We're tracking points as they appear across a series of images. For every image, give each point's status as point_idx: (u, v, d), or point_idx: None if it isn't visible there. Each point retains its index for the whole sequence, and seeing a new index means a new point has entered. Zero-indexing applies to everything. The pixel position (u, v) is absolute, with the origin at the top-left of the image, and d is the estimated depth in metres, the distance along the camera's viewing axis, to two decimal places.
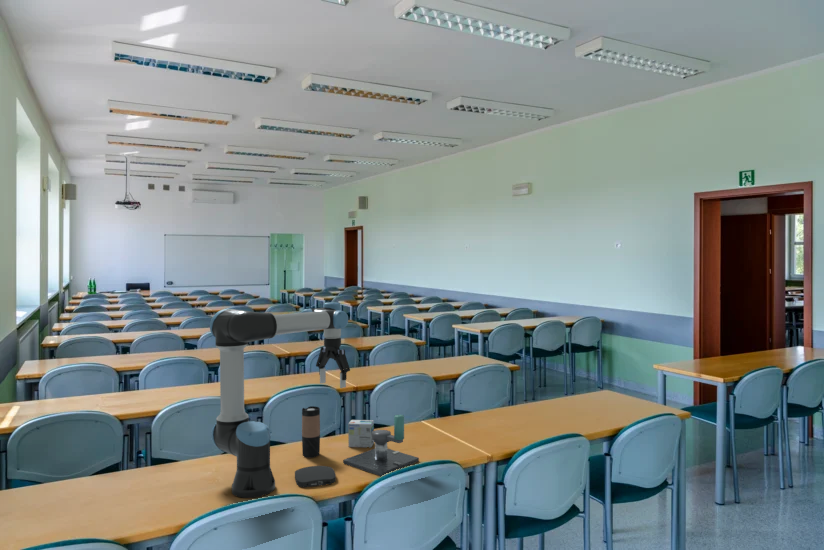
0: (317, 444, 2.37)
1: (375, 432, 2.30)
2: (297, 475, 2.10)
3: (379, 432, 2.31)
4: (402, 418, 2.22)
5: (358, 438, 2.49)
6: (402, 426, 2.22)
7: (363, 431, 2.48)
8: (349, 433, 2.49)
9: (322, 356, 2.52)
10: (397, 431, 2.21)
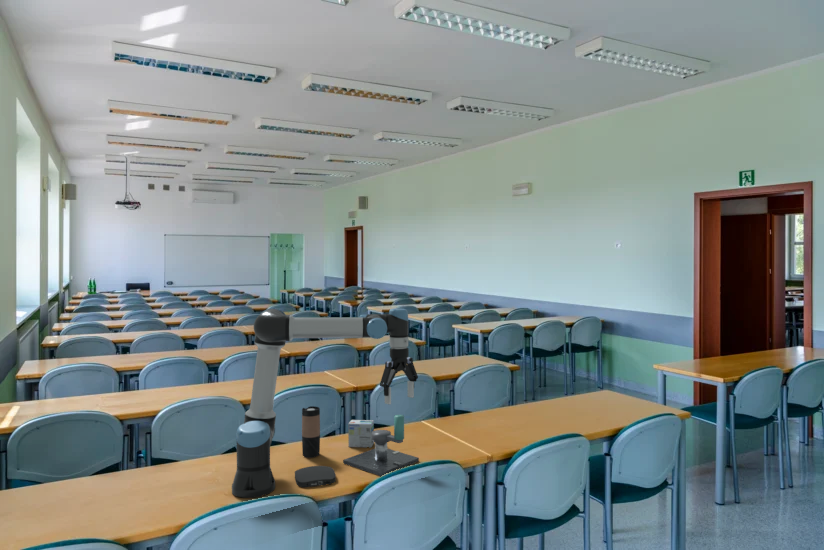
0: (317, 444, 2.37)
1: (375, 432, 2.30)
2: (297, 475, 2.10)
3: (379, 432, 2.31)
4: (402, 418, 2.22)
5: (358, 438, 2.49)
6: (402, 426, 2.22)
7: (363, 431, 2.48)
8: (349, 433, 2.49)
9: (410, 367, 2.28)
10: (397, 431, 2.21)
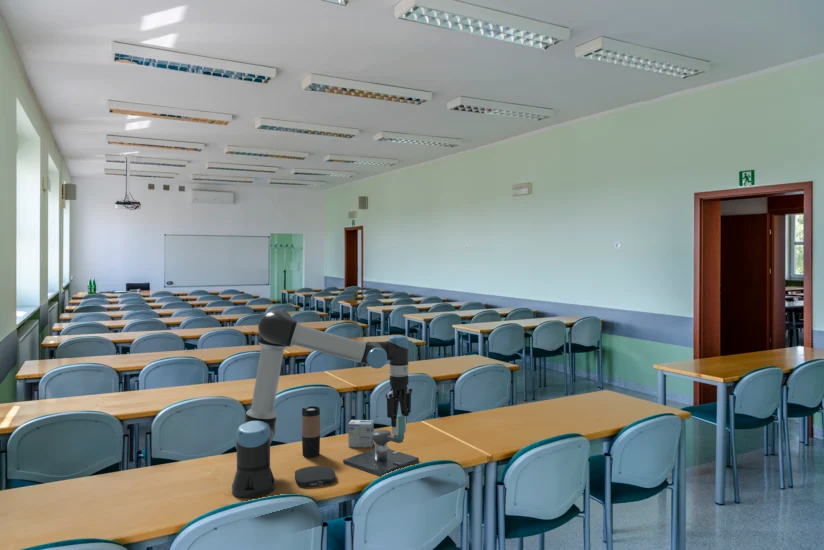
0: (317, 444, 2.37)
1: (375, 432, 2.30)
2: (297, 475, 2.10)
3: (379, 432, 2.31)
4: (402, 418, 2.22)
5: (358, 438, 2.49)
6: (402, 426, 2.22)
7: (363, 431, 2.48)
8: (349, 433, 2.49)
9: (406, 399, 2.27)
10: None
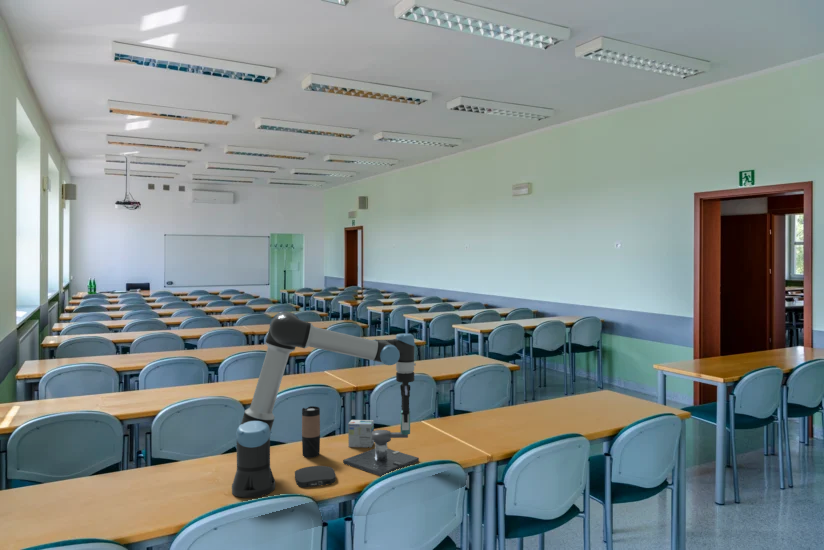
0: (317, 444, 2.37)
1: (376, 433, 2.29)
2: (297, 475, 2.10)
3: (378, 432, 2.30)
4: None
5: (358, 438, 2.49)
6: None
7: (363, 431, 2.48)
8: (349, 433, 2.49)
9: None
10: None
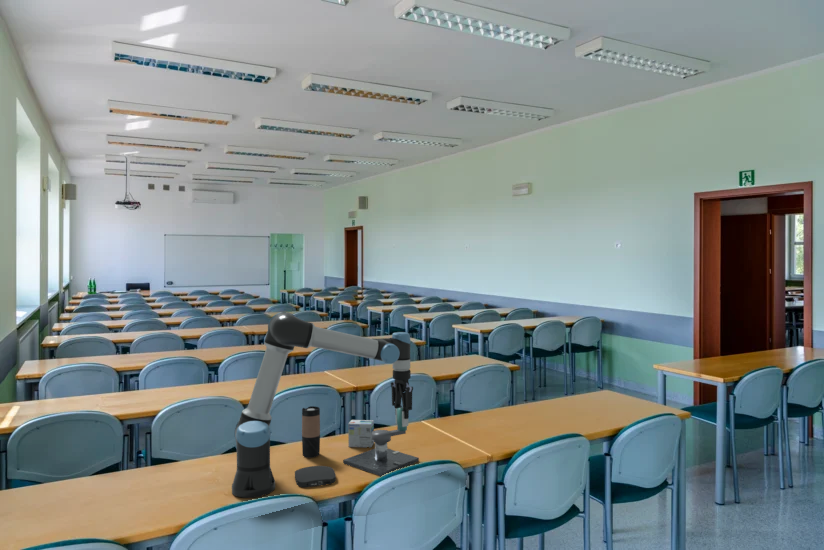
0: (317, 444, 2.37)
1: (378, 434, 2.28)
2: (297, 475, 2.10)
3: (378, 432, 2.30)
4: None
5: (358, 438, 2.49)
6: None
7: (363, 431, 2.48)
8: (349, 433, 2.49)
9: (395, 392, 2.38)
10: None
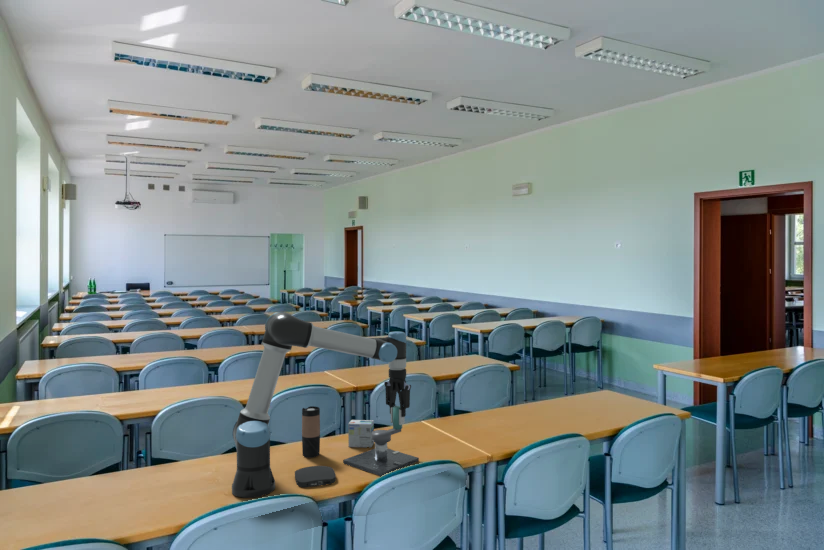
0: (317, 444, 2.37)
1: (379, 434, 2.28)
2: (297, 475, 2.10)
3: (378, 433, 2.29)
4: None
5: (358, 438, 2.49)
6: None
7: (363, 431, 2.48)
8: (349, 433, 2.49)
9: (389, 391, 2.40)
10: None
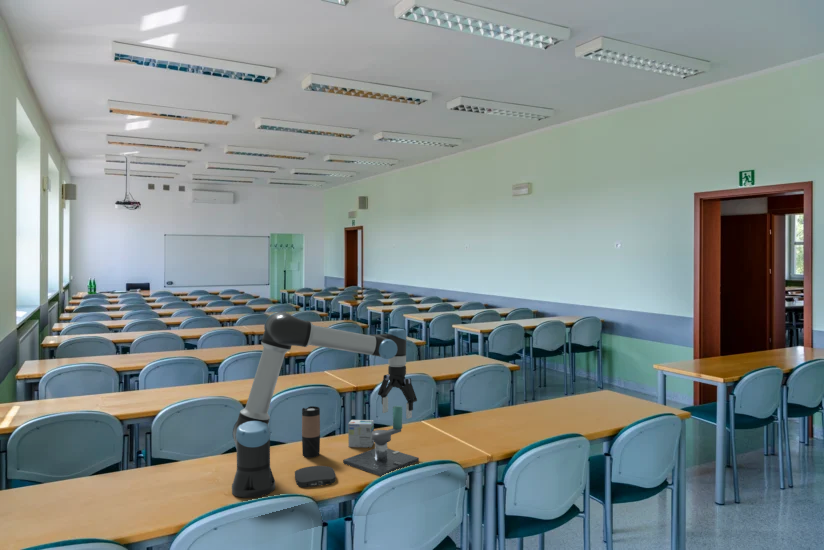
0: (317, 444, 2.37)
1: (379, 434, 2.28)
2: (297, 475, 2.10)
3: (378, 433, 2.29)
4: None
5: (358, 438, 2.49)
6: None
7: (363, 431, 2.48)
8: (349, 433, 2.49)
9: (385, 384, 2.41)
10: (401, 420, 2.37)
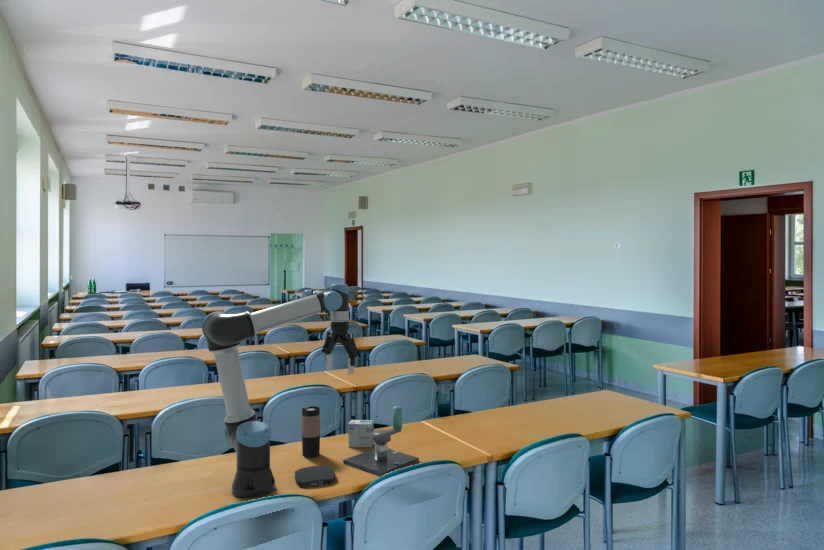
0: (317, 444, 2.37)
1: (379, 434, 2.28)
2: (297, 475, 2.10)
3: (378, 433, 2.29)
4: None
5: (358, 438, 2.49)
6: None
7: (363, 431, 2.48)
8: (349, 433, 2.49)
9: (328, 341, 2.38)
10: (401, 420, 2.37)
